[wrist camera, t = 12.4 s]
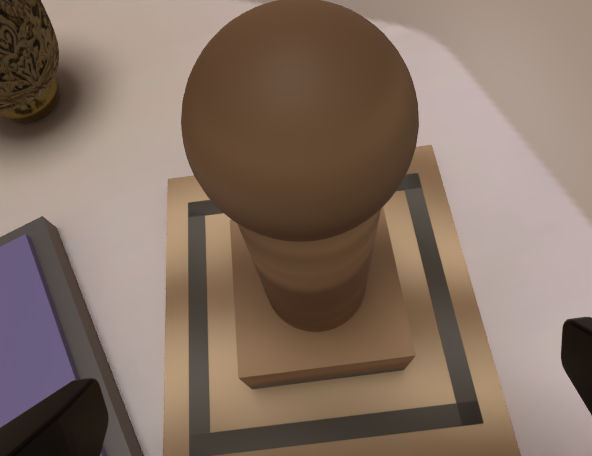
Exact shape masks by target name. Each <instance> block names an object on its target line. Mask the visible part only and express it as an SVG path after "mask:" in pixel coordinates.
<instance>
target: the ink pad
mask: <svg viewBox="0 0 592 456" xmlns="http://www.w3.org/2000/svg"><path fill="white" fill-rule="evenodd" d="M84 378H95V379H97V381H98V382H99V384H100V387H101V390H102V394H103V397H104V400H105V403H106V407H107V410H108V415H109V422H108V428H107V431H106V435H105V439H104V443H103V447H102V450H101V454H100V456H143V454H142V451H141V448H140V446H139V443H138V441H137V438H136V435H135V433H134V430H133V428H132V425H131V422H130V420H129V417H128V414H127V412H126V409H125V407H124V404H123V401H122V399H121V396H120V393H119V391H118V388H117V386H116V383H115V380H114V378H113V375H112V372H111V370H110V367H109V365H108V362H107V359H106V357H105V354H104V352H103V349H102V346H101V344H100V341H99V338H98V336H97V333H96V331H95V328H94V325H93V323H92V320H91V317H90V315H89V312H88V310H87V307H86V304H85V302H84V299H83V296H82V294H81V291H80V289H79V286H78V283H77V281H76V278H75V276H74V273H73V270H72V268H71V265H70V262H69V260H68V257H67V255H66V252H65V249H64V247H63V244H62V241H61V239H60V236H59V234H58V231H57V228H56V227H55V226H54V225H53V224H51V223H50V222H49V221H48V220H46V219H45V218H44V217H43V216H42V217H40V218H38V219H36V220H34V221H32V222H30V223H28V224H26V225H24V226H22V227H20V228H18V229H16V230H14V231H12V232H10V233H8V234H6V235H4V236H2V237H0V427H2V426H3V425H5V424H7V423H8V422H10V421H11V420H13V419H14V418H16V417H17V416H19V415H20V414H22V413H23V412H25V411H27V410H28V409H30V408H31V407H33V406H34V405H36V404H37V403H39V402H40V401H42V400H43V399H45V398H47V397H48V396H50V395H51V394H53V393H54V392H56V391H57V390H59V389H60V388H62V387H63V386H65V385H66V384H68V383H70V382H71V381H73V380H76V379H84Z"/></svg>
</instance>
